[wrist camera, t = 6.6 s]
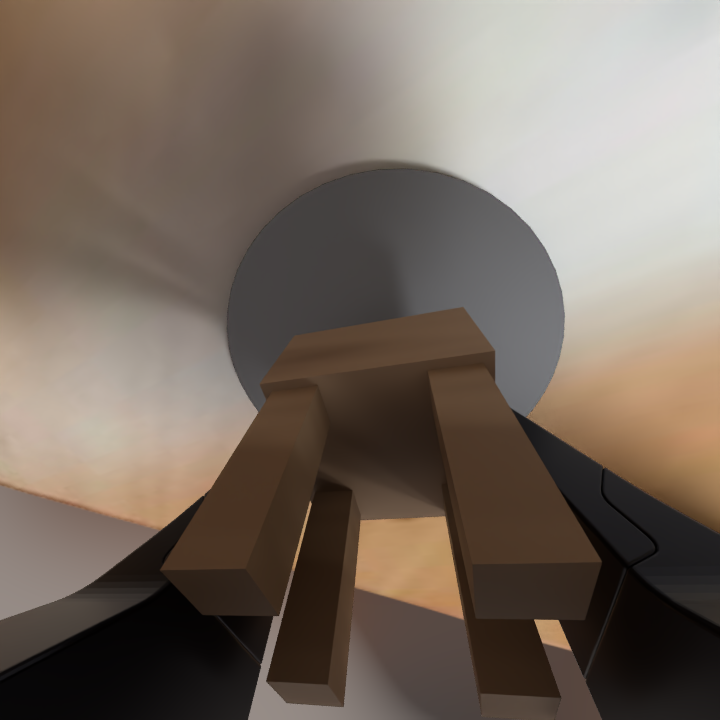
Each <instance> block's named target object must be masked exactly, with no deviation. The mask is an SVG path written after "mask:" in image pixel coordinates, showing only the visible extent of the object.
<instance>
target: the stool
mask: <svg viewBox="0 0 720 720" xmlns="http://www.w3.org/2000/svg"><path fill="white" fill-rule="evenodd" d="M259 385H260V387H261V389H262V392H263V394H264V396H265V398H266V402H265V403H264V405H263V407H262V408H261V410H260V411H259V413H258V414H257V416H256V418H255V419H254V421H253V422H252V424H251V426H250V427H249V429H248V430H247V432H246V434H245V435H244V437H243V438H242V440H241V442H240V443H239V445H238V446H237V448H236V450H235V451H234V453H233V454H232V456H231V458H230V459H229V461H228V462H227V464H226V465H225V467H224V469H223V470H222V472H221V473H220V475H219V477H218V478H217V480H216V481H215V483H214V485H213V486H212V488H211V489H210V491H209V493H208V494H207V496H206V497H205V499H204V501H203V502H202V504H201V505H200V507H199V509H198V510H197V512H196V513H195V515H194V517H193V518H192V520H191V521H190V523H189V524H188V526H187V528H186V529H185V531H184V532H183V534H182V536H181V537H180V539H179V540H178V542H177V544H176V545H175V547H174V548H173V550H172V552H171V553H170V555H169V556H168V558H167V560H166V561H165V563H164V564H163V566H162V568H161V569H160V571H161V572H162V573H163V574H164V575H165V576H166V577H167V578H168V579H169V580H170V581H171V582H172V583H173V585H174V586H175V587H176V588H177V589H178V590H179V591H180V592H181V593H182V594H183V595H184V596H185V597H186V598H187V599H188V600H189V601H190V602H191V603H192V604H193V605H194V606H195V608H196V609H197V610H198V611H199V612H200V613H201V614H202V615H236V616H279V614H280V611H281V607H282V603H283V599H284V596H285V592H286V588H287V584H288V581H289V576H290V573H291V569H292V566H293V562H294V558H295V555H296V551H297V547H298V543H299V540H300V536H301V532H302V528H303V525H304V521H305V517H306V513H307V510H308V506H309V502H310V501H311V503H312V505H311V509H310V513H309V517H308V521H307V525H306V529H305V533H304V536H303V540H302V544H301V548H300V552H299V556H298V560H297V564H296V567H295V571H294V576H293V579H292V583H291V587H290V591H289V595H288V599H287V603H286V606H285V610H284V614H283V618H282V622H281V626H280V630H279V634H278V637H277V641H276V645H275V649H274V653H273V657H272V661H271V664H270V668H269V672H268V676H267V680H266V682H267V683H268V684H269V685H270V686H271V687H272V688H273V689H274V690H275V691H276V692H277V693H278V694H279V695H280V696H281V697H282V698H283V699H284V701H285V702H286V703H293V704H308V705H321V706H335V707H344V696H345V686H346V675H347V663H348V652H349V642H350V630H351V619H352V608H353V597H354V586H355V575H356V564H357V553H358V542H359V531H360V520H376V519H397V518H418V517H439V516H446V522H447V527H448V533H449V538H450V544H451V549H452V555H453V560H454V566H455V571H456V577H457V582H458V588H459V594H460V599H461V605H462V610H463V616H464V621H465V626H466V631H467V638H468V643H469V648H470V654H471V660H472V665H473V670H474V676H475V681H476V687H477V693H478V698H479V703H480V709H481V715H482V717H492V718H507V719H521V720H555V717H556V714H557V711H558V707H559V704H560V701H561V696H560V693H559V690H558V687H557V684H556V681H555V679H554V676H553V673H552V670H551V667H550V664H549V662H548V658H547V656H546V653H545V650H544V647H543V644H542V641H541V638H540V636H539V633H538V630H537V627H536V624H535V621H534V619H539V620H585V618H586V614H587V611H588V608H589V604H590V601H591V598H592V594H593V591H594V588H595V585H596V581H597V578H598V575H599V571H600V568H601V565H602V561H601V559H600V557H599V556H598V554H597V552H596V551H595V549H594V547H593V546H592V544H591V542H590V541H589V539H588V537H587V536H586V534H585V532H584V531H583V529H582V527H581V526H580V524H579V522H578V521H577V519H576V517H575V516H574V514H573V512H572V511H571V509H570V507H569V506H568V504H567V502H566V500H565V499H564V497H563V495H562V494H561V492H560V490H559V489H558V487H557V485H556V484H555V482H554V480H553V479H552V477H551V475H550V474H549V472H548V470H547V469H546V467H545V465H544V464H543V462H542V460H541V459H540V457H539V455H538V454H537V452H536V450H535V449H534V447H533V445H532V444H531V442H530V440H529V439H528V437H527V435H526V433H525V432H524V430H523V428H522V427H521V425H520V423H519V422H518V420H517V418H516V417H515V415H514V413H513V412H512V410H511V408H510V407H509V405H508V403H507V402H506V400H505V398H504V397H503V395H502V393H501V392H500V390H499V388H498V387H497V385H496V383H495V350H494V348H493V347H492V346H491V344H490V343H489V341H488V340H487V339H486V337H485V336H484V335H483V333H482V332H481V330H480V329H479V328H478V326H477V325H476V324H475V322H474V321H473V319H472V318H471V317H470V315H469V314H468V313H467V311H466V310H465V308H464V307H460V308H454V309H448V310H442V311H436V312H430V313H424V314H419V315H413V316H407V317H401V318H395V319H389V320H383V321H377V322H371V323H366V324H360V325H354V326H348V327H342V328H336V329H330V330H324V331H318V332H313V333H307V334H301V335H295V336H294V337H293V338H292V340H291V341H290V342H289V344H288V345H287V346H286V348H285V349H284V351H283V352H282V353H281V355H280V356H279V358H278V359H277V360H276V362H275V363H274V364H273V366H272V367H271V369H270V370H269V371H268V373H267V374H266V375H265V377H264V378H263V380H262V381H261V382H260V384H259Z"/></svg>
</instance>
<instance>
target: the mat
mask: <svg viewBox="0 0 720 720" xmlns="http://www.w3.org/2000/svg"><path fill="white" fill-rule="evenodd" d="M460 307H464V308H465V310H466V311H467V313H468V314H469V315H470V317H471V318H472V319H473V321H474V322H475V324H476V325H477V326H478V328H479V329H480V330H481V332H482V333H483V335H484V336H485V337H486V339H487V340H488V341H489V343H490V344H491V346H492V347H493V348H494V350H495V383H496V385H497V387H498V388H499V390H500V392H501V393H502V395H503V397H504V398H505V400H506V402H507V403H508V405H509V407H510V408H512V409H513V410H515V411H517V412H518V413H520V414H521V415H523V416H524V417H526V416H527V415H528V414H529V413H530V412H531V411H532V410H533V408H534V407H535V405H536V404H537V403H538V401H539V400H540V398H541V397H542V395H543V394H544V392H545V390H546V388H547V386H548V384H549V383H550V381H551V379H552V377H553V374H554V371H555V369H556V366H557V363H558V360H559V357H560V353H561V348H562V343H563V337H564V318H565V313H564V305H563V296H562V291H561V287H560V284H559V280H558V277H557V273H556V270H555V268H554V266H553V264H552V262H551V260H550V257H549V255H548V253H547V251H546V249H545V247H544V246H543V245H542V243H541V242H540V240H539V239H538V238H537V236H536V235H535V233H534V232H533V231H532V229H531V228H530V227H529V226H528V225H527V224H526V223H525V222H524V221H523V220H522V219H521V218H520V217H519V216H518V215H517V214H516V213H515V212H514V211H513V210H512V209H511V208H510V207H508V206H507V205H505V204H504V203H503V202H501V201H500V200H498V199H497V198H495V197H494V196H493V195H491V194H490V193H488V192H486V191H484V190H482V189H480V188H478V187H476V186H473V185H471V184H469V183H467V182H465V181H463V180H459V179H456V178H453V177H449V176H446V175H442V174H439V173H435V172H427V171H420V170H412V169H384V170H374V171H368V172H363V173H357V174H352V175H348V176H345V177H343V178H340V179H337V180H334V181H331V182H328V183H325V184H323V185H321V186H319V187H317V188H315V189H314V190H312V191H310V192H308V193H306V194H304V195H302V196H300V197H299V198H298V199H296V200H295V201H294V202H292V203H291V204H290V205H288V206H287V207H286V208H284V209H283V210H282V211H280V212H279V213H278V214H277V215H276V216H275V217H274V218H273V219H272V220H271V221H270V222H269V223H268V224H267V225H266V226H265V227H264V228H263V229H262V230H261V232H260V233H259V235H258V236H257V237H256V239H255V240H254V242H253V243H252V244H251V246H250V247H249V249H248V250H247V252H246V254H245V256H244V258H243V260H242V262H241V264H240V266H239V268H238V270H237V273H236V276H235V279H234V282H233V286H232V289H231V293H230V299H229V305H228V317H227V332H228V341H229V349H230V353H231V357H232V361H233V365H234V368H235V370H236V373H237V375H238V378H239V380H240V383H241V385H242V387H243V388H244V390H245V392H246V394H247V396H248V397H249V399H250V400H251V402H252V403H253V405H254V406H255V407H256V409H257V410H258V412H259V411H260V410H261V408H262V407H263V405H264V403H265V402H266V398H265V396H264V394H263V392H262V389H261V387H260V385H259V384H260V382H261V381H262V380H263V378H264V377H265V375H266V374H267V373H268V371H269V370H270V369H271V367H272V366H273V364H274V363H275V362H276V360H277V359H278V358H279V356H280V355H281V353H282V352H283V351H284V349H285V348H286V346H287V345H288V344H289V342H290V341H291V340H292V338H293V337H294V336H295V335H301V334H307V333H313V332H318V331H324V330H330V329H336V328H342V327H348V326H354V325H360V324H366V323H371V322H377V321H383V320H389V319H395V318H401V317H407V316H413V315H419V314H424V313H430V312H436V311H442V310H448V309H454V308H460Z"/></svg>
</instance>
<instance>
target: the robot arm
mask: <svg viewBox="0 0 720 720" xmlns="http://www.w3.org/2000/svg"><path fill="white" fill-rule="evenodd" d="M511 410H512V412H513V413H514V415H515V417H516V418H517V420H518V422H519V423H520V425H521V427H522V428H523V430H524V432H525V433H526V435H527V437H528V439H529V440H530V442H531V444H532V445H533V447H534V449H535V450H536V452H537V454H538V455H539V457H540V459H541V460H542V462H543V464H544V465H545V467H546V469H547V470H548V472H549V474H550V475H551V477H552V479H553V480H554V482H555V484H556V485H557V487H558V489H559V490H560V492H561V494H562V495H563V497H564V499H565V500H566V502H567V504H568V506H569V507H570V509H571V511H572V512H573V514H574V516H575V517H576V519H577V521H578V522H579V524H580V526H581V527H582V529H583V531H584V532H585V534H586V536H587V537H588V539H589V541H590V542H591V544H592V546H593V547H594V549H595V551H596V552H597V554H598V556H599V557H600V559H601V561H602V565H601V568H600V571H599V575H598V578H597V581H596V585H595V588H594V591H593V594H592V598H591V601H590V604H589V608H588V611H587V614H586V618H585V620H559V622H560V624H561V627H562V629H563V631H564V634H565V636H566V638H567V640H568V643H569V645H570V647H571V649H572V652H573V654H574V656H575V658H576V661H577V663H578V665H579V668H580V670H581V672H582V675H583V677H584V678H585V679H586V684H587V686H588V688H589V691H590V693H591V695H592V698H593V700H594V702H595V704H596V707H597V709H598V711H599V713H600V716H601V718H602V720H720V533H718V532H716V531H714V530H712V529H710V528H709V527H707V526H705V525H703V524H701V523H699V522H697V521H696V520H694V519H692V518H690V517H688V516H686V515H685V514H683V513H681V512H679V511H677V510H676V509H674V508H672V507H670V506H669V505H667V504H665V503H663V502H662V501H660V500H658V499H656V498H654V497H653V496H651V495H649V494H647V493H646V492H644V491H643V490H641V489H639V488H638V487H636V486H634V485H633V484H631V483H629V482H628V481H626V480H624V479H623V478H621V477H620V476H618V475H616V474H615V473H613V472H612V471H610V470H608V469H607V468H604V469H603V466H602V465H600V464H599V463H597V462H596V461H594V460H592V459H591V458H589V457H588V456H586V455H585V454H583V453H581V452H580V451H578V450H577V449H575V448H573V447H572V446H570V445H569V444H567V443H566V442H564V441H562V440H561V439H559V438H558V437H556V436H554V435H553V434H551V433H550V432H548V431H547V430H545V429H543V428H542V427H540V426H539V425H537V424H536V423H534V422H532V421H531V420H529V419H528V418H526V417H524V416H523V415H521V414H520V413H518V412H517V411H515V410H513V409H512V408H511ZM209 491H210V490H209ZM209 491H208V492H207V493H205V496H202V497H201V498H200V499H198V500H197V501H196V502H195V503H194V504H193V505H191V506H190V507H189V508H188V509H187V510H185V511H184V512H183V513H182V514H181V515H179V516H178V517H177V518H176V519H175V520H173V521H172V522H171V523H170V524H168V525H167V526H166V527H164V528H163V529H162V530H161V531H159V532H158V533H157V534H156V535H154V536H153V537H152V538H150V539H149V540H148V541H147V542H145V543H144V544H143V545H141V546H140V547H139V548H138V549H136V550H135V551H133V552H132V553H131V554H130V555H128V556H127V557H126V558H124V559H123V560H122V561H120V562H119V563H118V564H116V565H115V566H114V567H113V568H111V569H110V570H109V571H107V572H106V573H105V574H103V575H102V576H101V577H99V578H98V579H97V580H95V581H94V582H92V583H91V584H89V585H87V586H86V587H84V588H83V589H81V590H79V591H77V592H75V593H73V594H71V595H69V596H67V597H65V598H62V599H60V600H57V601H55V602H52V603H49V604H46V605H43V606H40V607H37V608H35V609H32V610H29V611H26V612H23V613H20V614H17V615H14V616H11V617H8V618H6V619H3V620H0V720H248V716H249V713H250V709H251V705H252V701H253V697H254V693H255V689H256V685H257V681H258V677H259V673H260V669H261V665H260V664H261V663H262V660H263V655H264V651H265V648H266V644H267V640H268V635H269V632H270V628H271V623H272V620H273V616H236V615H202V614H201V613H200V612H199V611H198V610H197V609H196V608H195V606H194V605H193V604H192V603H191V602H190V601H189V600H188V599H187V598H186V597H185V596H184V595H183V594H182V593H181V592H180V591H179V590H178V589H177V588H176V587H175V586H174V585H173V583H172V582H171V581H170V580H169V579H168V578H167V577H166V576H165V575H164V574H163V573H162V572H161V571H160V569H161V568H162V566H163V564H164V563H165V561H166V560H167V558H168V556H169V555H170V553H171V552H172V550H173V548H174V547H175V545H176V544H177V542H178V540H179V539H180V537H181V536H182V534H183V532H184V531H185V529H186V528H187V526H188V524H189V523H190V521H191V520H192V518H193V517H194V515H195V513H196V512H197V510H198V509H199V507H200V505H201V504H202V502H203V501H204V499H205V497H206V496H207V494H208V493H209Z"/></svg>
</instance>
